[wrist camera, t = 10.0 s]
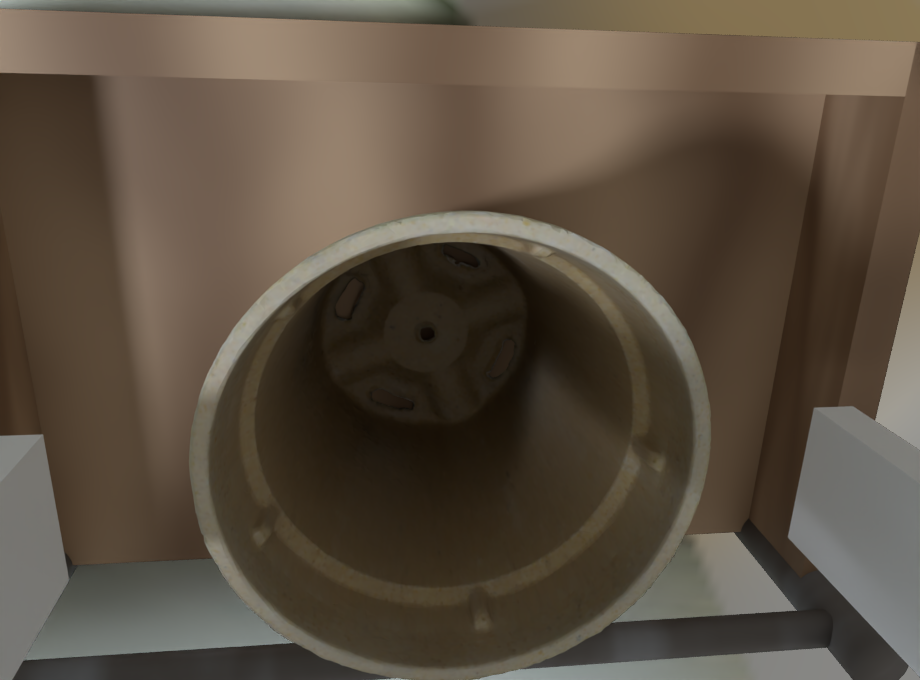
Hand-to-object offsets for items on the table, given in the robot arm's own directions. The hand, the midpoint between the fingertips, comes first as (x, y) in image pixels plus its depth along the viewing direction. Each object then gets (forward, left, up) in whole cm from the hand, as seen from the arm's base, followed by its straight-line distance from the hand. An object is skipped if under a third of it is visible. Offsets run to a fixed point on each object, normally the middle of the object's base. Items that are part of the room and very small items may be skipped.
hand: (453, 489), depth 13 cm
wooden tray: (0, 0, -10) cm, 10 cm away
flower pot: (0, 0, -9) cm, 9 cm away
